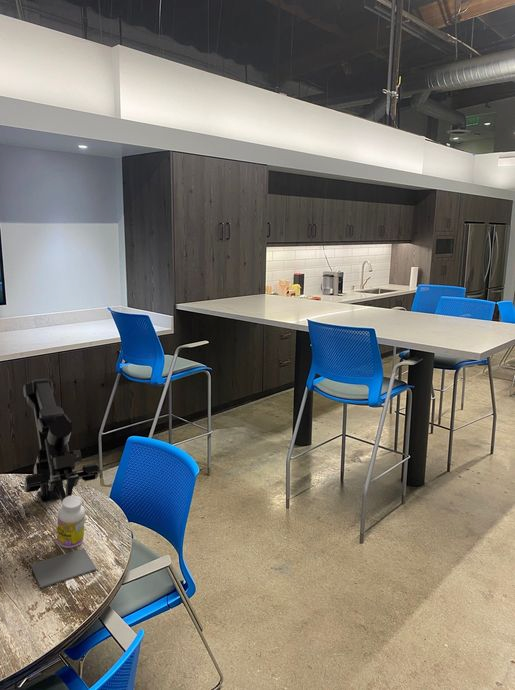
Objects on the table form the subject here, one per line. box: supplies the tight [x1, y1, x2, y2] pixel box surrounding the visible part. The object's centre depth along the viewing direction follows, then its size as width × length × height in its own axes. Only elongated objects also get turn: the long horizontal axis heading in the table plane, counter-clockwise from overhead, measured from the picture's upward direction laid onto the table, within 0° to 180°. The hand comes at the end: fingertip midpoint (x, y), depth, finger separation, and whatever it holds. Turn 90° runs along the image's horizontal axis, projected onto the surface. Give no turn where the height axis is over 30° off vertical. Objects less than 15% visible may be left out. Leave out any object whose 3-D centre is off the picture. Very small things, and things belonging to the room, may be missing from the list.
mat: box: [30, 547, 98, 589], centre depth 129 cm, size 10×13×1 cm
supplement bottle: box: [56, 495, 86, 549], centre depth 137 cm, size 7×7×13 cm
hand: (68, 507), depth 139 cm, fingers closed
